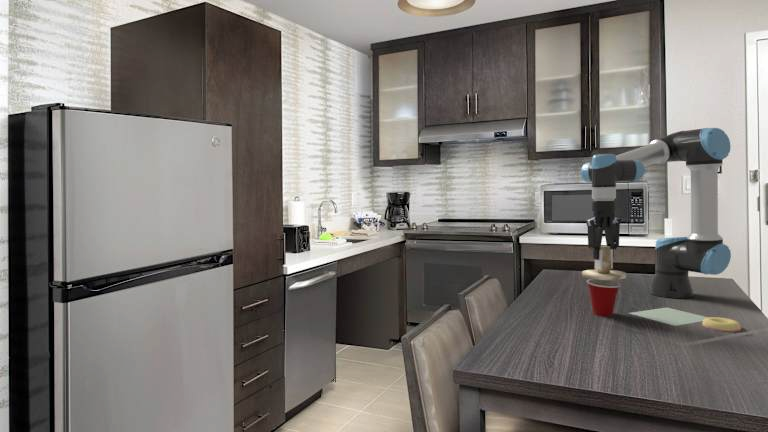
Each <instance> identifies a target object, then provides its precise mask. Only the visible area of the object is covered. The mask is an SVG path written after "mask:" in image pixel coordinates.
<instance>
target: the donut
mask: <svg viewBox="0 0 768 432" xmlns="http://www.w3.org/2000/svg"><path fill="white" fill-rule="evenodd" d="M701 324H702V326H703V327H704V328H706V329H709V330H714V331H719V332H728V333H729V332H734V333H735V332H740V331H741V330H742V326H741V324H740V323H739V322H738V321H737V320H734V319H731V318H728V317H727V318H726V317H718V316H716V317H714V316H713V317H712V316H710V317H709V318H706V319H704V320H703V321H702V322H701Z"/></svg>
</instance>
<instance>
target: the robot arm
mask: <svg viewBox="0 0 768 432" xmlns="http://www.w3.org/2000/svg"><path fill="white" fill-rule="evenodd" d="M730 151H731V140H730V138H729V136H728V133H726V132H725V131H724V130H722V129H721V128H718V127H706V128H705V127H704V128H699V129H689V130H681V131H677V132H672V133H670V134H668V135H665V136H662V137H660V138H656V139H654V140H652V141H650V142H649V144H647V145H644V146H641V147H638V148H635V149H632V150H628V151H627V152H623V153H622V152H621V153H620V154H617V155H616V154H614V153H602V154H594V155H593V156H592V160H591V162H587V163H584V164H583V165H582V167H581V169H580V175H581V178H582V181H584V182H586V183H591V199H592V201H591V212H593V214H592V218H590V219H586V220H585V223H586V227H587V246H588V249H591V250H592V251H593V260H594V270H595V269H599V270H602V250H600V248H601V246H602V242H603V241H602V240H603V234H604V236H605V242H606V246H610V270H614V268H613V267H614V266H613V265H614V264H613V263H614V261H613V260H614V257H615V250H617V248H618V247H620V230H621V229H620V228H621V223H622V218H620V217H616V215H615V212H616V210H617V208H616V207H617V201H616V200H615V199H617V183H634V182H639V181H641V180H642V178H643V177H644V175H645V172H646V171H645V170H646V169H645V168H646V167H648V166H651V165H654V164H658V165H661V164H665V163H671V162H685V167H687V168H688V170H690V233H689V235H688V236H677V237H676V236H675V237H663V238H658V239H657V240H655V248H654V254H655V256H654V258H655V261H654V262H655V264H654V265H655V266H654V267H655V271H654V272H655V275H654V278H653V280H652V283H651V285H650V294H651V295H654V296H657V297H662V298H670V299H671V298H672V299H687V298H693V297H694V289H693V287H692V283H691V280H690V277H689V272H691V273H692V272H693V273H698V274H703V275H714V276H715V275H720V274H722V273H723V272H724V271H726V269H727V268H728V267H729V264H730V261H731V257H732V253H731V249H730V247H729V246H728V245H726V244H725V243H724V239H723V237H722V236H721V235H720V234H719V220H718V219H719V216H718V214H719V212H718V211H719V207H718V205H719V204H718V203H719V197H718V196H719V194H718V193H719V191H718V190H719V187H718V179H719V177H718V175H719V173H718V172H719V171H718V169H720V167H721V166H722V165H723V160H724V159H726V158H728V156H729V154H730Z"/></svg>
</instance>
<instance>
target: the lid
mask: <svg viewBox="0 0 768 432" xmlns="http://www.w3.org/2000/svg"><path fill="white" fill-rule="evenodd" d="M600 250H602V270H599V269H595V268H594V269H586V270H582V271H581V276H582V277H583V278H586V279H589V280H590V279H599V280H609V281H616V280H619V281H620V280H624V279H627V273H626V272H625V271H621V270H616V269H615V270H614V269H610V246H607V245H601V248H600Z"/></svg>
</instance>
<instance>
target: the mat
mask: <svg viewBox="0 0 768 432" xmlns="http://www.w3.org/2000/svg"><path fill="white" fill-rule="evenodd" d="M628 314H630V315H633V316H638V317H640V318H645V319H648V320H650V321H651V320H652V321H655V322H659V323H662V324H665V325H666V324H667V325H671V326H674V327H676V326H677V327H678V326H681V325H682V326H683V325H689V324H695V323H700V322H701V323H702V322H703V320H704V319H706V318H709V317H708V316H704V315H700V314H696V313H692V312H688V311H683V310H678V309H674V308H671V307H662V308H661V307H660V308H654V309H647V310H640V311H634V312H633V311H632V312H628Z"/></svg>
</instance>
